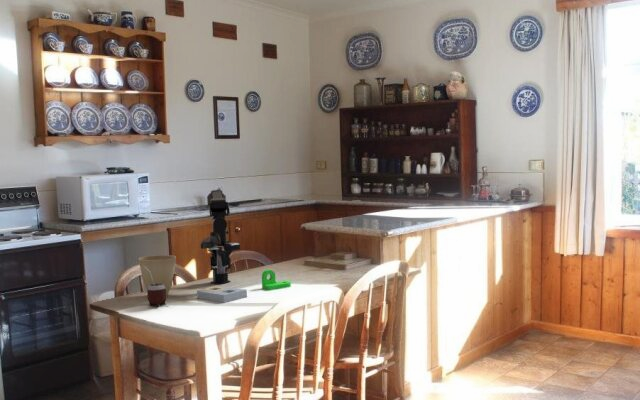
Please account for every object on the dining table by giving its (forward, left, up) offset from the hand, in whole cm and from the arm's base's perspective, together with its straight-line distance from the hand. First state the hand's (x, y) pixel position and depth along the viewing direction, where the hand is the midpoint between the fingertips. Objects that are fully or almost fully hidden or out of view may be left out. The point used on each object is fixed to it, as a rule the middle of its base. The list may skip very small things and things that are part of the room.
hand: (220, 266), depth 277 cm
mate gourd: (-1, -33, -11) cm, 35 cm away
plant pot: (-15, -21, -11) cm, 28 cm away
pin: (0, 0, -3) cm, 3 cm away
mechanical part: (+16, +17, -11) cm, 26 cm away
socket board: (+11, -10, -10) cm, 18 cm away
